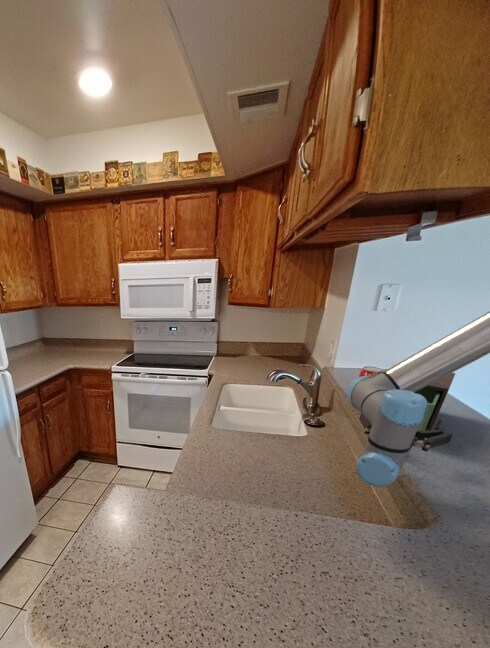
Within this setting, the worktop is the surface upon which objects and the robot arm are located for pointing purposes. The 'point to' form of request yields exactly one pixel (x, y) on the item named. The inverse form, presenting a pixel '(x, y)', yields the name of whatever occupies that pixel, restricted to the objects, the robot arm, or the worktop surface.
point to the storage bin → (428, 404)
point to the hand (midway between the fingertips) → (408, 416)
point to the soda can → (370, 371)
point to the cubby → (442, 386)
